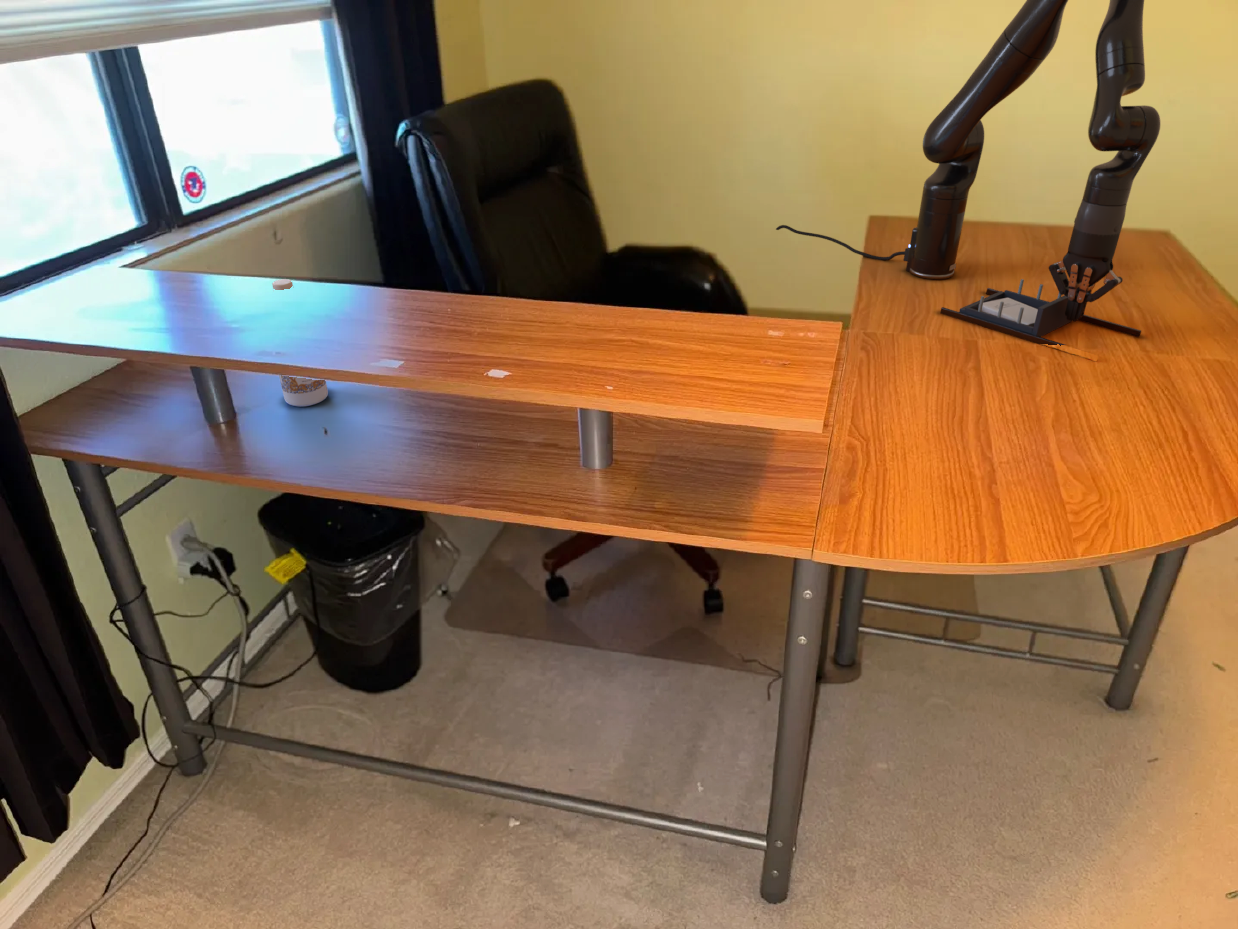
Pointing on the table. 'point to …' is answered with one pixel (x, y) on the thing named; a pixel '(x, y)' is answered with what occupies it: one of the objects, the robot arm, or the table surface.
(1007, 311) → the hard drive
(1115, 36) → the robot arm
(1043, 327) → the rack
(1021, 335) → the rack rails
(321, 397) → the patterned jar
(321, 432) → the table surface
